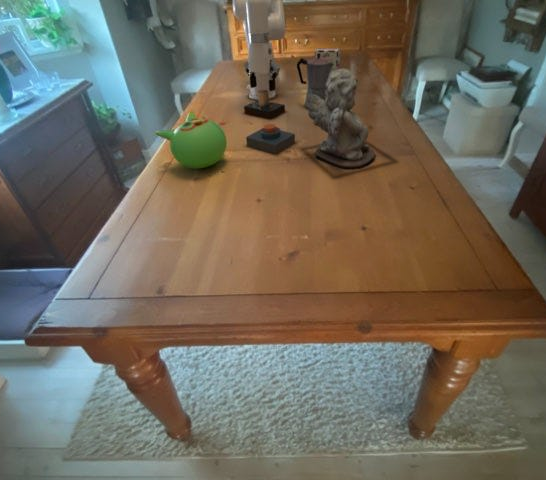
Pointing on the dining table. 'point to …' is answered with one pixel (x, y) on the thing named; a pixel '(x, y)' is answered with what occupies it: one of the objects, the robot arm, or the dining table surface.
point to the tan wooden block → (263, 98)
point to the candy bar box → (330, 57)
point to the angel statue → (340, 123)
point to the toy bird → (196, 142)
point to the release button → (269, 128)
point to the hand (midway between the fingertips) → (263, 88)
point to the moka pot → (315, 75)
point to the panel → (264, 110)
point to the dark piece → (270, 140)
